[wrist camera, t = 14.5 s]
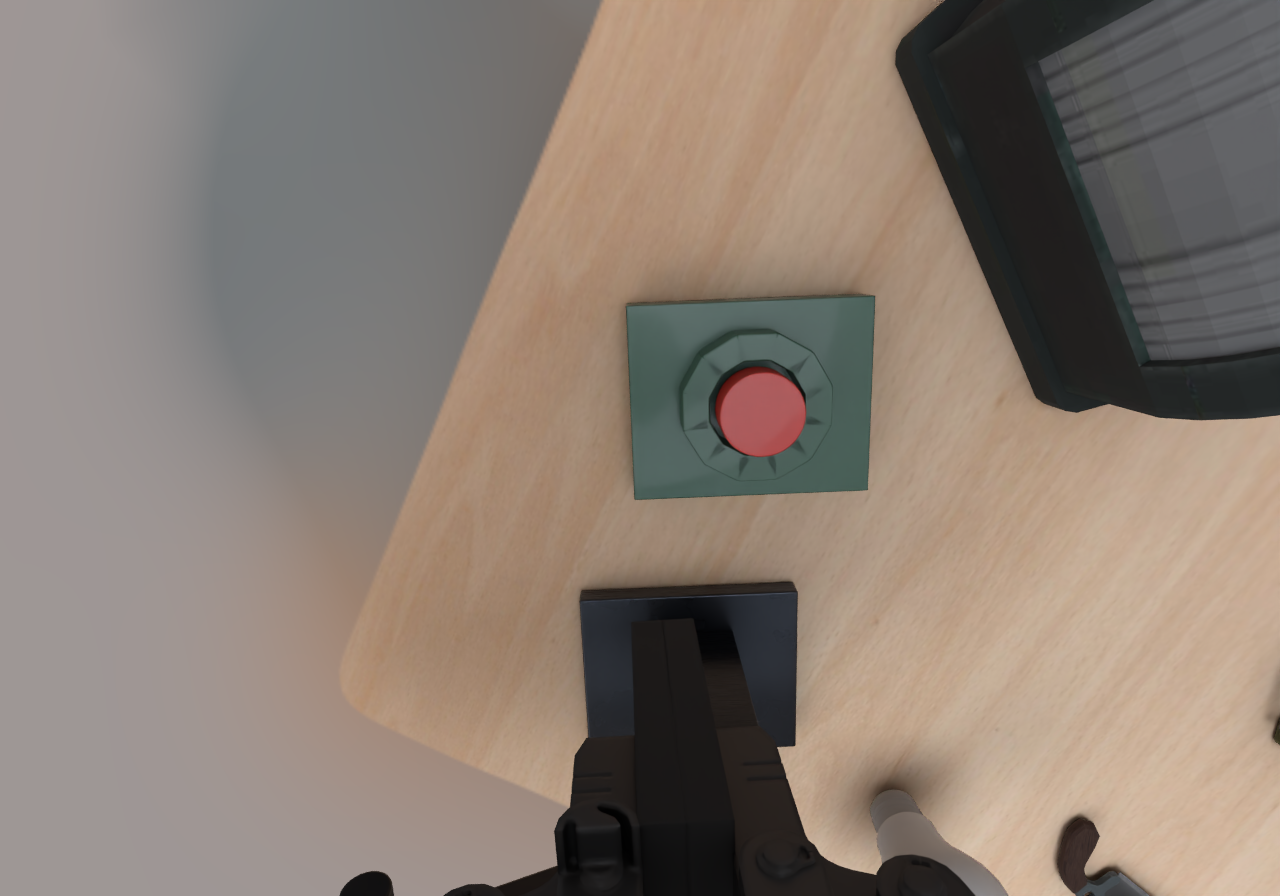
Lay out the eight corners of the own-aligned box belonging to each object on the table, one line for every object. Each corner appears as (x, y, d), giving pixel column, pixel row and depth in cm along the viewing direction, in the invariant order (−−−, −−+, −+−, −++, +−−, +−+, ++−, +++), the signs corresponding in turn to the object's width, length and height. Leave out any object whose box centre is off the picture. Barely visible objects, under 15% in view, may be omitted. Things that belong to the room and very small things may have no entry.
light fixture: (1305, 526, 22) (1073, -149, 18) (1047, 425, 36) (880, 29, 32) (1895, 248, 20) (1800, -583, 16) (1386, 253, 34) (1259, -193, 30)
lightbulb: (875, 862, 42) (957, 1064, 32) (811, 793, 41) (874, 979, 31) (963, 803, 41) (1077, 991, 31) (900, 731, 40) (997, 901, 30)
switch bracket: (590, 741, 40) (570, 980, 27) (580, 590, 38) (553, 768, 25) (791, 732, 40) (870, 967, 27) (793, 581, 38) (880, 755, 25)
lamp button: (715, 448, 32) (720, 459, 31) (714, 367, 32) (718, 374, 30) (796, 445, 32) (805, 455, 31) (797, 364, 32) (807, 370, 30)
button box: (634, 486, 37) (634, 512, 33) (626, 303, 34) (625, 308, 31) (854, 477, 37) (880, 502, 33) (860, 293, 34) (889, 297, 31)
